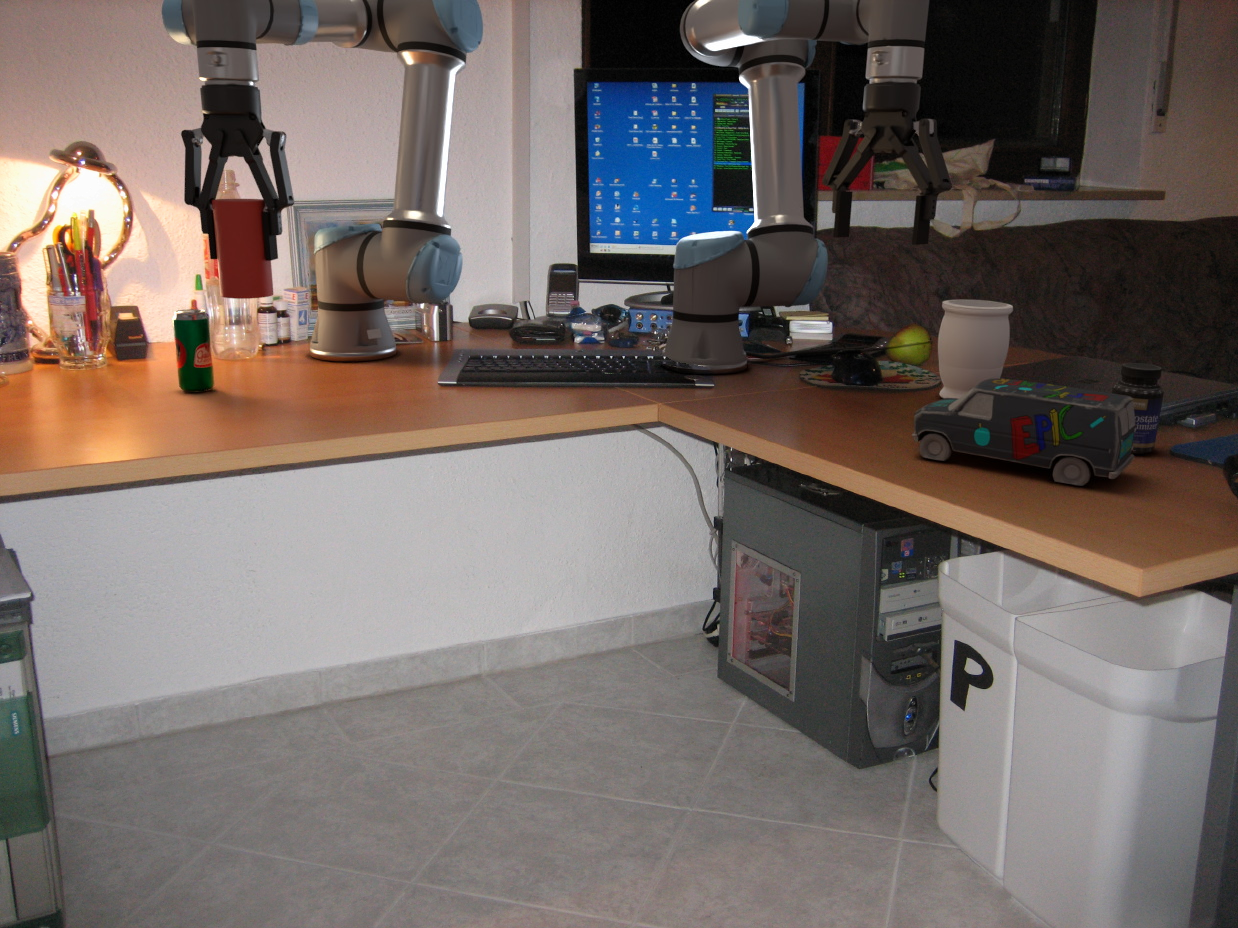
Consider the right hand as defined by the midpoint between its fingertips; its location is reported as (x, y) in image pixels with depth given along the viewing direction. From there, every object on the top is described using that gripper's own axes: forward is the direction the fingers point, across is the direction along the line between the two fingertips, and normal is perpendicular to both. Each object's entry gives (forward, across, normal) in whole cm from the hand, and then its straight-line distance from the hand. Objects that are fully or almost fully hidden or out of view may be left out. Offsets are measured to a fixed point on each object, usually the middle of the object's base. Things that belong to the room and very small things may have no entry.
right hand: (879, 241), depth 152 cm
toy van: (+25, +29, -8) cm, 39 cm away
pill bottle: (+25, +34, +11) cm, 44 cm away
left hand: (+4, -54, -71) cm, 89 cm away
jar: (+25, +4, +20) cm, 32 cm away
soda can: (+25, -70, -74) cm, 105 cm away
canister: (+9, -54, -71) cm, 90 cm away
